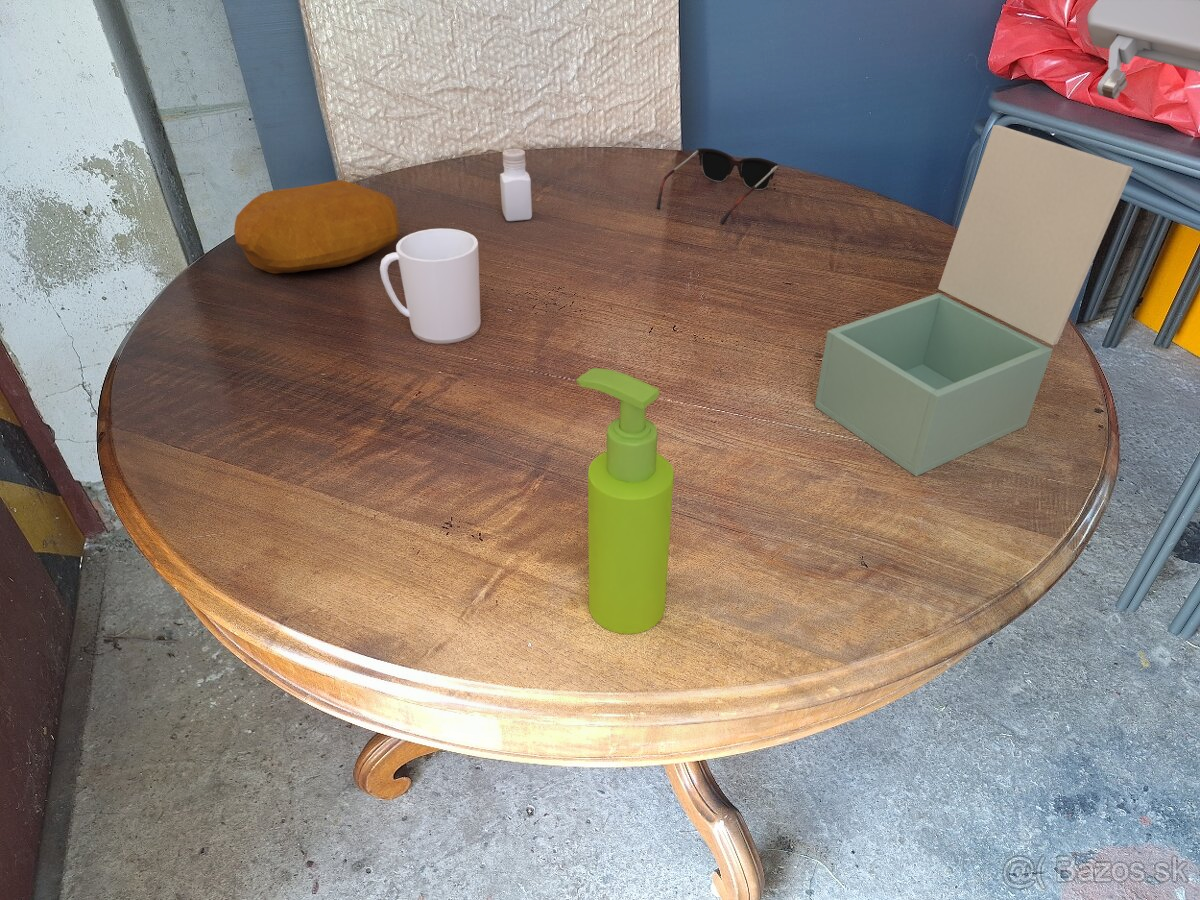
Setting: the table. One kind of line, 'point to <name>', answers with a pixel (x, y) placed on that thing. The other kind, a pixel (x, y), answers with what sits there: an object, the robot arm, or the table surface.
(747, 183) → the sunglasses
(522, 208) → the salt shaker
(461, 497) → the table surface
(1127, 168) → the lid
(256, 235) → the bread
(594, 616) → the soap dispenser
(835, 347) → the green open box
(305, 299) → the table surface
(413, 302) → the mug
